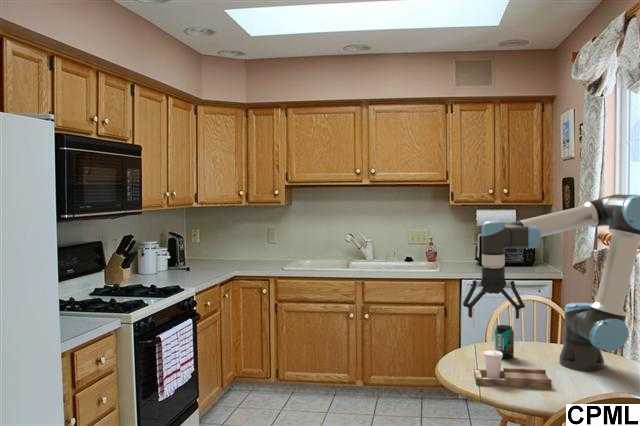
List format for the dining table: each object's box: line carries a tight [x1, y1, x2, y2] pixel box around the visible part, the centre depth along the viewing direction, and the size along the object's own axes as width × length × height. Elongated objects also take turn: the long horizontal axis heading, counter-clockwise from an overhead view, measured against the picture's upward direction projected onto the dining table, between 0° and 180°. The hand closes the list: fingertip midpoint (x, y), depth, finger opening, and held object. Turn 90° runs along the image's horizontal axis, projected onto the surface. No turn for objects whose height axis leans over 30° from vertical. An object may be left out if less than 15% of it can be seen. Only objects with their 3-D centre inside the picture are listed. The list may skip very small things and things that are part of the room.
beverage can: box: [494, 324, 515, 360], centre depth 215 cm, size 7×7×12 cm
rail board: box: [473, 367, 552, 390], centre depth 189 cm, size 24×10×3 cm, turn 78°
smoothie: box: [483, 340, 503, 379], centre depth 190 cm, size 6×6×14 cm
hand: (493, 327), depth 189 cm, fingers open, 13 cm apart
